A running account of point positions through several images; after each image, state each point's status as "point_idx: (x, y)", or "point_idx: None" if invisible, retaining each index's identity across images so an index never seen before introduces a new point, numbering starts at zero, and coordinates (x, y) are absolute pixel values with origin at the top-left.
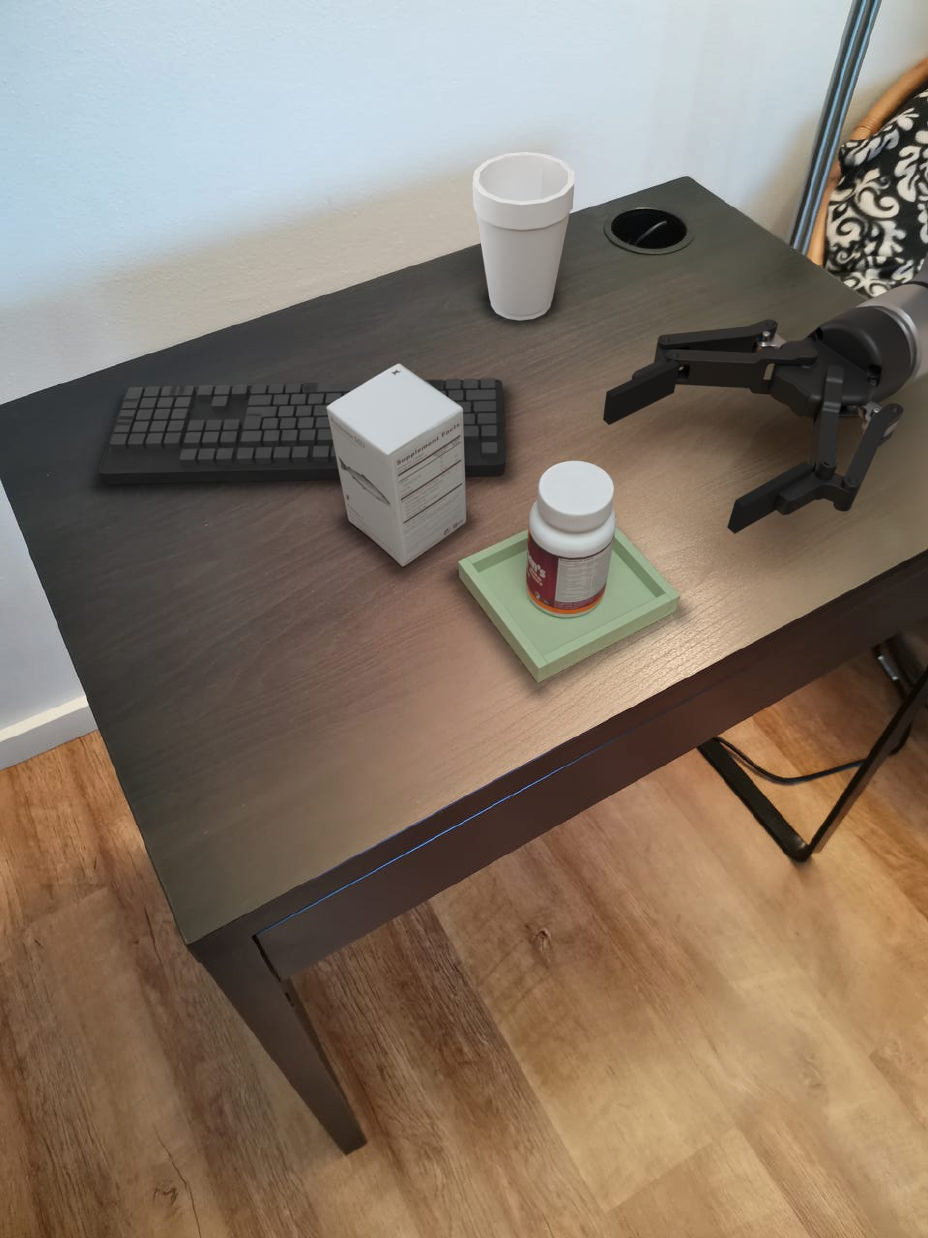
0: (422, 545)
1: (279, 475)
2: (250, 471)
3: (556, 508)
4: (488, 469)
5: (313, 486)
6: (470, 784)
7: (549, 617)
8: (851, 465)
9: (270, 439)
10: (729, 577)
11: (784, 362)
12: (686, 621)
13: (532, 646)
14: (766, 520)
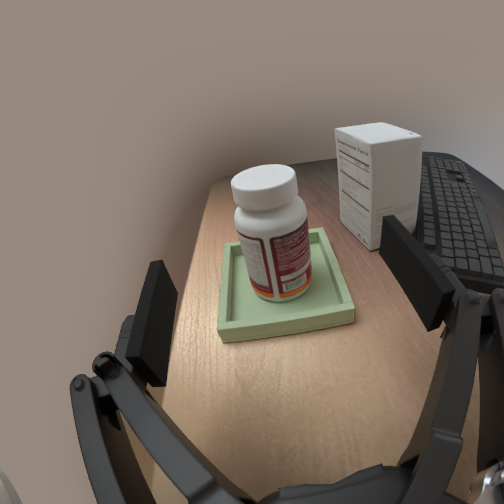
0: (348, 222)
1: None
2: None
3: (250, 168)
4: None
5: None
6: (202, 227)
7: None
8: (92, 406)
9: (435, 184)
10: (226, 400)
11: (407, 486)
12: (210, 345)
13: (239, 243)
14: (270, 476)
